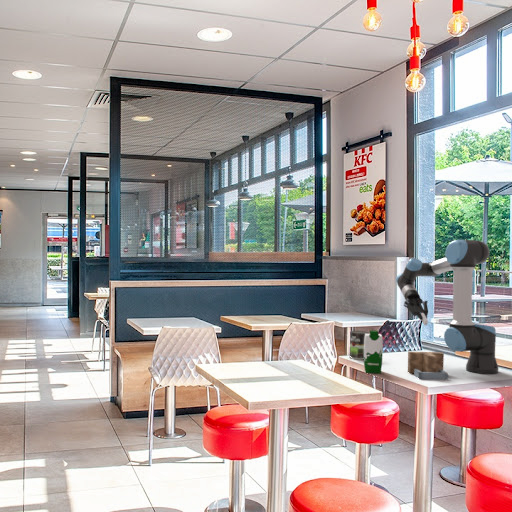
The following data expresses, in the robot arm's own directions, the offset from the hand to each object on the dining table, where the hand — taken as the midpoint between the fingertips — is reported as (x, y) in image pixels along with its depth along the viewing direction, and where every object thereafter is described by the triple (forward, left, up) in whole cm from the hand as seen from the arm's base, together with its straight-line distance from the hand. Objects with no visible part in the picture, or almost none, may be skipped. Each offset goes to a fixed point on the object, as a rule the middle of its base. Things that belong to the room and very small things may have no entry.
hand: (426, 323), depth 312 cm
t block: (+4, +20, -22) cm, 30 cm away
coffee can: (+30, -23, -23) cm, 44 cm away
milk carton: (+30, +15, -23) cm, 40 cm away
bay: (+5, +25, -22) cm, 34 cm away
